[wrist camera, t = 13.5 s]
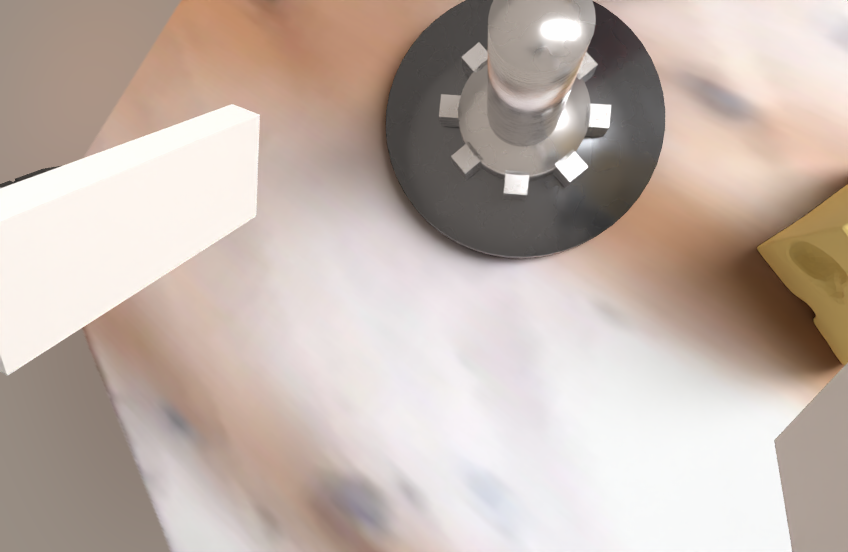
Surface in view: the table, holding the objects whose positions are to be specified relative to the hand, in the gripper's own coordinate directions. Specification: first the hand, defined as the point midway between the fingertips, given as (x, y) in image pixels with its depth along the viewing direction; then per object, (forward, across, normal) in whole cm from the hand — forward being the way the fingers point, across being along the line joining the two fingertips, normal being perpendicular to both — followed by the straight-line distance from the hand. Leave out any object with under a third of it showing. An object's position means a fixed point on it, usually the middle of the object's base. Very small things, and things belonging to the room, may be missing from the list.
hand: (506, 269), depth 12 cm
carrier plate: (+31, -5, -7) cm, 32 cm away
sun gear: (+29, -5, -6) cm, 30 cm away
